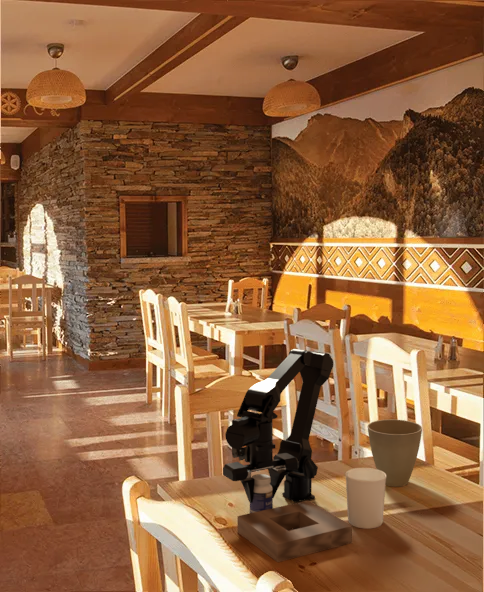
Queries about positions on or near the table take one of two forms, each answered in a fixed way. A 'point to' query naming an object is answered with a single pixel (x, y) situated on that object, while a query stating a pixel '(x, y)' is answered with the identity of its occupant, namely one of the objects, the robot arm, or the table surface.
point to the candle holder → (365, 497)
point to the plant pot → (395, 448)
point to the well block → (290, 544)
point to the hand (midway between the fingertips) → (261, 499)
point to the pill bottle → (262, 493)
